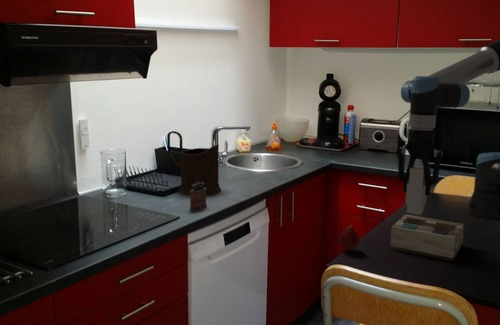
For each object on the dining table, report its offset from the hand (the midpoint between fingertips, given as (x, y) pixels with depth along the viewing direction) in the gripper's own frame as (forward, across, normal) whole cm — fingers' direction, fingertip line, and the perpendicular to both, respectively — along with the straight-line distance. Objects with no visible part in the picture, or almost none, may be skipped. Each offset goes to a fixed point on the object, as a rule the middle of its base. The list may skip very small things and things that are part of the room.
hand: (415, 203), depth 162 cm
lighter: (+13, -78, -6) cm, 80 cm away
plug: (+3, 0, 0) cm, 3 cm away
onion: (+13, -14, -17) cm, 26 cm away
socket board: (+13, +5, -1) cm, 14 cm away
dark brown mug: (+13, -96, +15) cm, 98 cm away
